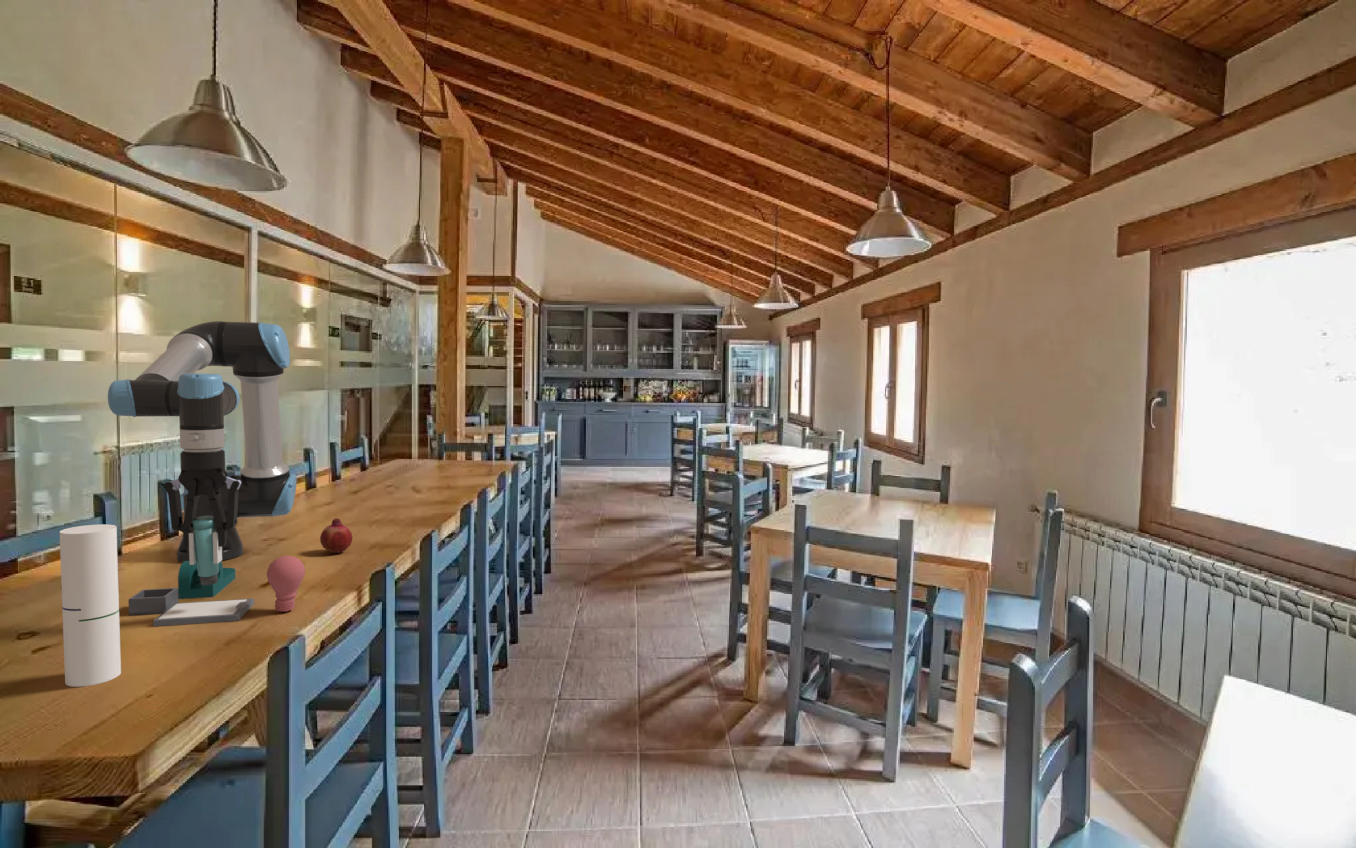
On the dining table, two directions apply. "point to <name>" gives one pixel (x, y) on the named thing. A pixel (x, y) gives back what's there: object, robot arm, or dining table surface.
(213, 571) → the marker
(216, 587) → the bracket
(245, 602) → the clipboard
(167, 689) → the dining table surface
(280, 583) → the light bulb
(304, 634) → the dining table surface
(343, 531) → the fruit
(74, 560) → the cylindrical container
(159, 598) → the pen holder
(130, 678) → the dining table surface
